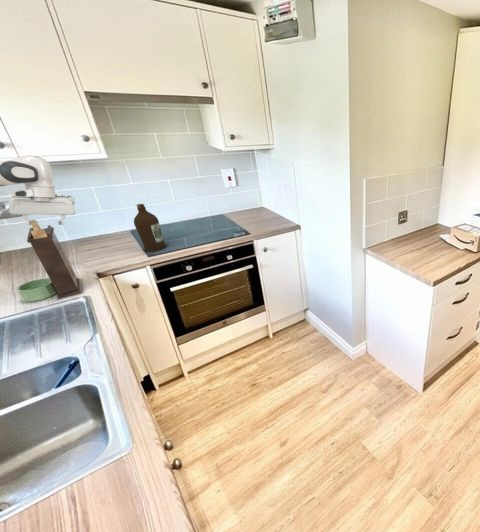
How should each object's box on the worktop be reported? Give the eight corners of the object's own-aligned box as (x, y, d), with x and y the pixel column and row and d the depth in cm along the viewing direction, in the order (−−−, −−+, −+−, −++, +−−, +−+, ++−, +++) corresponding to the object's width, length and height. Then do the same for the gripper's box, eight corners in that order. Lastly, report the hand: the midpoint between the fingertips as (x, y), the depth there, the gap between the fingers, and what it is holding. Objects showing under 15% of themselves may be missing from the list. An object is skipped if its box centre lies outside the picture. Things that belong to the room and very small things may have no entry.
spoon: (34, 239, 122) (31, 234, 122) (28, 224, 136) (26, 220, 135) (47, 236, 125) (45, 232, 124) (40, 222, 138) (38, 218, 137)
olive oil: (139, 252, 174) (122, 207, 163) (151, 244, 183) (135, 201, 172) (160, 251, 175) (144, 207, 163) (170, 244, 184) (156, 201, 173)
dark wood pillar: (58, 299, 133) (25, 238, 120) (59, 285, 142) (28, 227, 130) (81, 293, 137) (51, 234, 125) (80, 279, 147) (52, 224, 134)
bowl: (22, 305, 128) (15, 293, 126) (24, 294, 135) (18, 283, 132) (58, 296, 135) (52, 285, 132) (59, 286, 141) (53, 275, 139)
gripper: (73, 195, 155) (77, 224, 156) (7, 193, 140) (12, 224, 142) (73, 194, 150) (78, 224, 152) (5, 192, 136) (11, 224, 138)
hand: (46, 224), depth 147 cm, fingers open, 8 cm apart
